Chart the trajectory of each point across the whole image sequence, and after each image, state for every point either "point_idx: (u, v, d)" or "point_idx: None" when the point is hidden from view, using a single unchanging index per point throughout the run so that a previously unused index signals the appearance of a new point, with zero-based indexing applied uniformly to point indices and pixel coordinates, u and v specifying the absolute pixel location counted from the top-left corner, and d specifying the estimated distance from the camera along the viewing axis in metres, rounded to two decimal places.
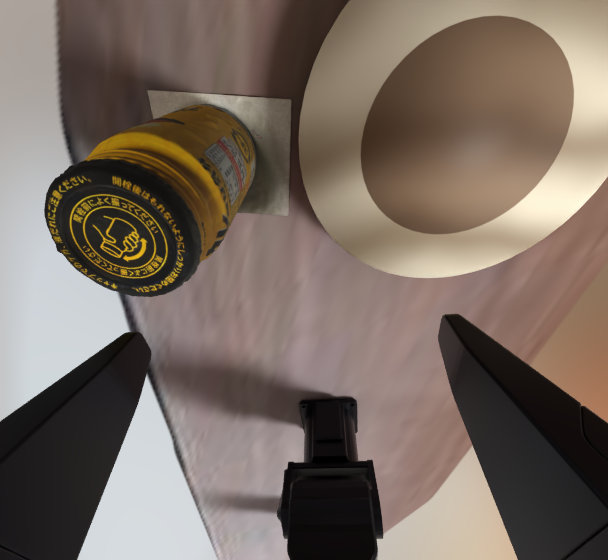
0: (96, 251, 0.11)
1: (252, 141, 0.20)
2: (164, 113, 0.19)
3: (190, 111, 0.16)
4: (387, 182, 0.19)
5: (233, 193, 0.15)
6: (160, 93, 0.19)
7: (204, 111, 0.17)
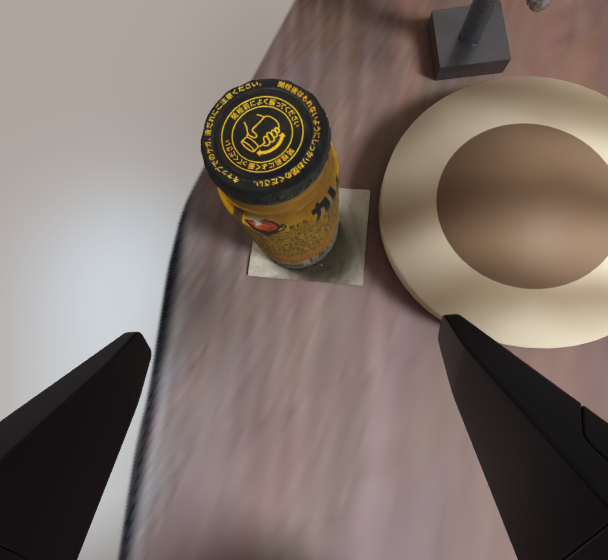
0: (235, 145, 0.12)
1: None
2: None
3: None
4: (466, 233, 0.20)
5: (339, 185, 0.16)
6: None
7: None
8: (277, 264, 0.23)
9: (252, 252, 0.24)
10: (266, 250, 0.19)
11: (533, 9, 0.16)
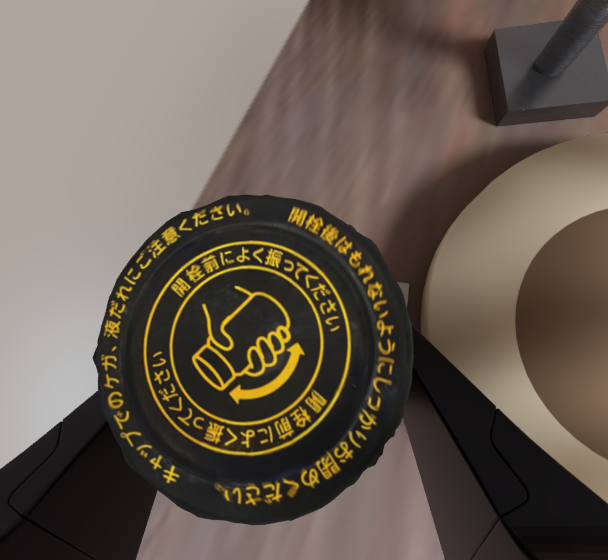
0: (177, 368, 0.05)
1: None
2: None
3: None
4: (565, 380, 0.13)
5: None
6: None
7: None
8: None
9: None
10: None
11: None
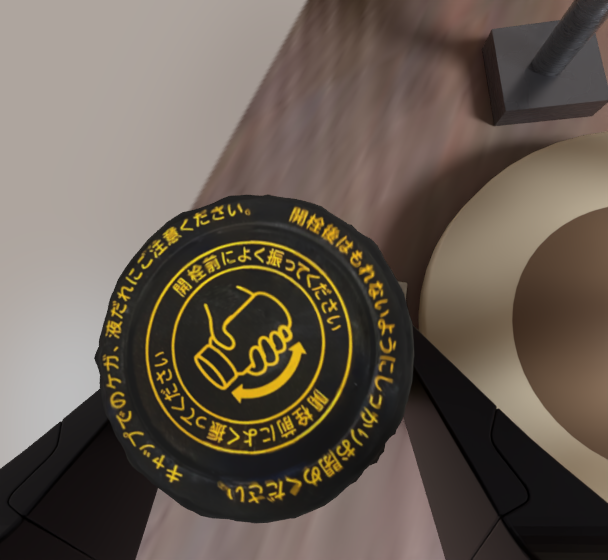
0: (179, 368, 0.05)
1: None
2: None
3: None
4: (561, 378, 0.13)
5: None
6: None
7: None
8: None
9: None
10: None
11: None
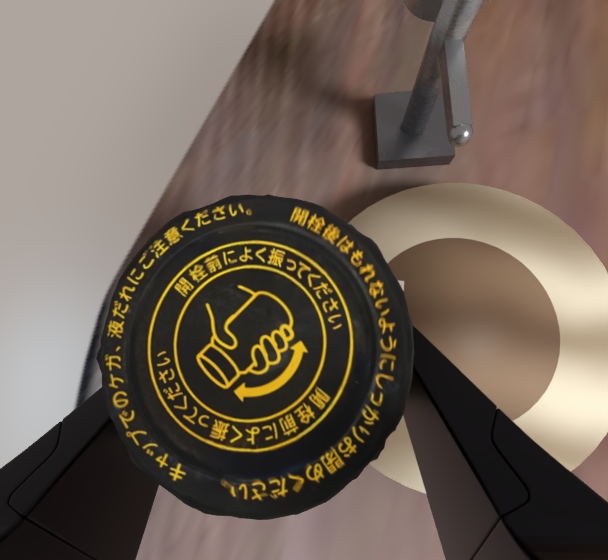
0: (181, 367, 0.05)
1: None
2: None
3: None
4: None
5: None
6: None
7: None
8: None
9: None
10: None
11: (452, 144, 0.14)
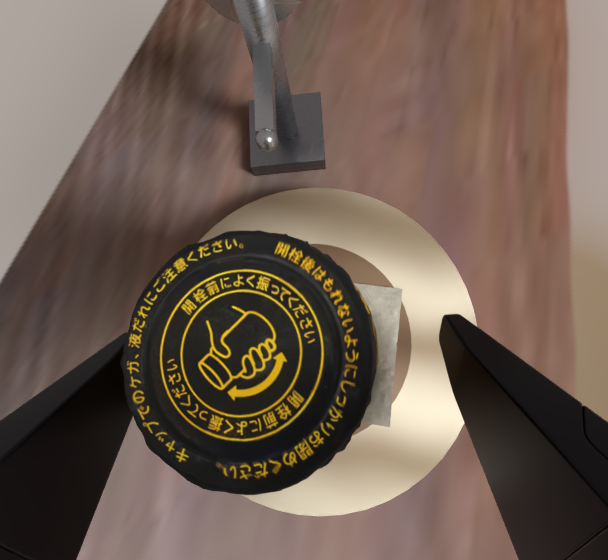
0: (186, 372, 0.06)
1: None
2: None
3: None
4: None
5: None
6: None
7: None
8: None
9: None
10: None
11: (261, 150, 0.14)
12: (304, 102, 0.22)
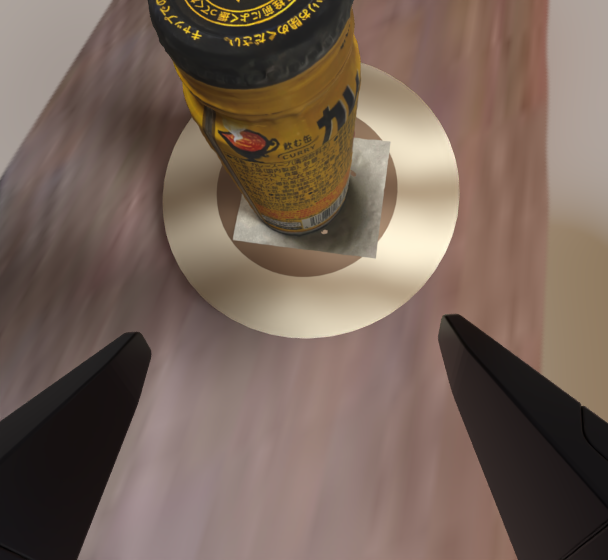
0: None
1: None
2: None
3: None
4: None
5: None
6: None
7: None
8: (270, 228, 0.19)
9: (240, 212, 0.19)
10: (254, 199, 0.15)
11: None
12: None
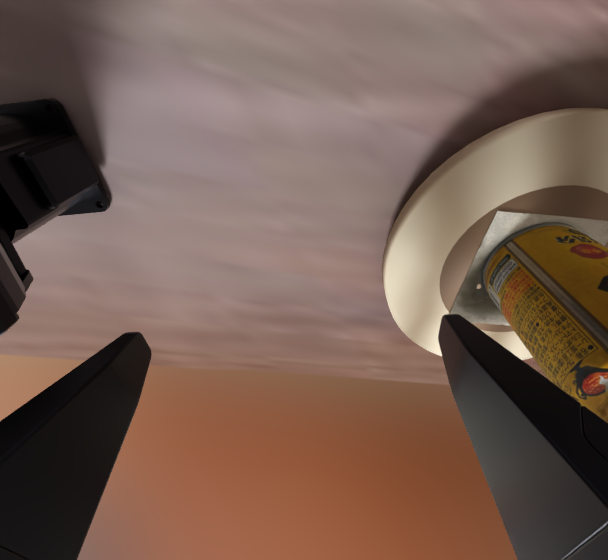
0: None
1: None
2: (593, 231, 0.18)
3: None
4: None
5: None
6: None
7: None
8: (498, 245, 0.19)
9: (527, 215, 0.18)
10: (537, 289, 0.16)
11: None
12: None
